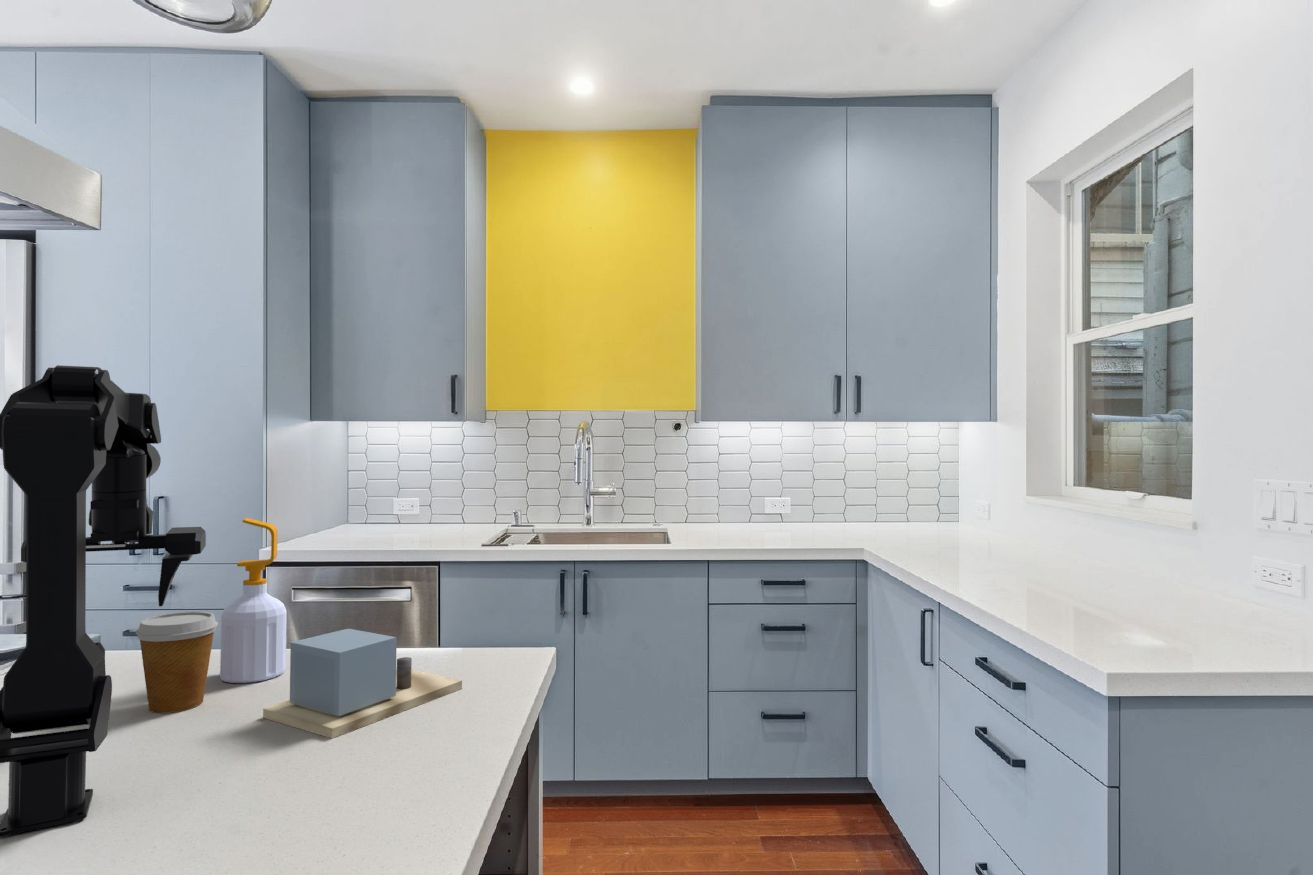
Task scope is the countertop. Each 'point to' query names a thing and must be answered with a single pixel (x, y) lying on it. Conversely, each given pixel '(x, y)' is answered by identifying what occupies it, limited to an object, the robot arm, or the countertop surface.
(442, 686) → the flat panel
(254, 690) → the countertop surface
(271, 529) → the soap bottle
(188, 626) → the disposable coffee cup
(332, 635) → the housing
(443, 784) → the countertop surface
